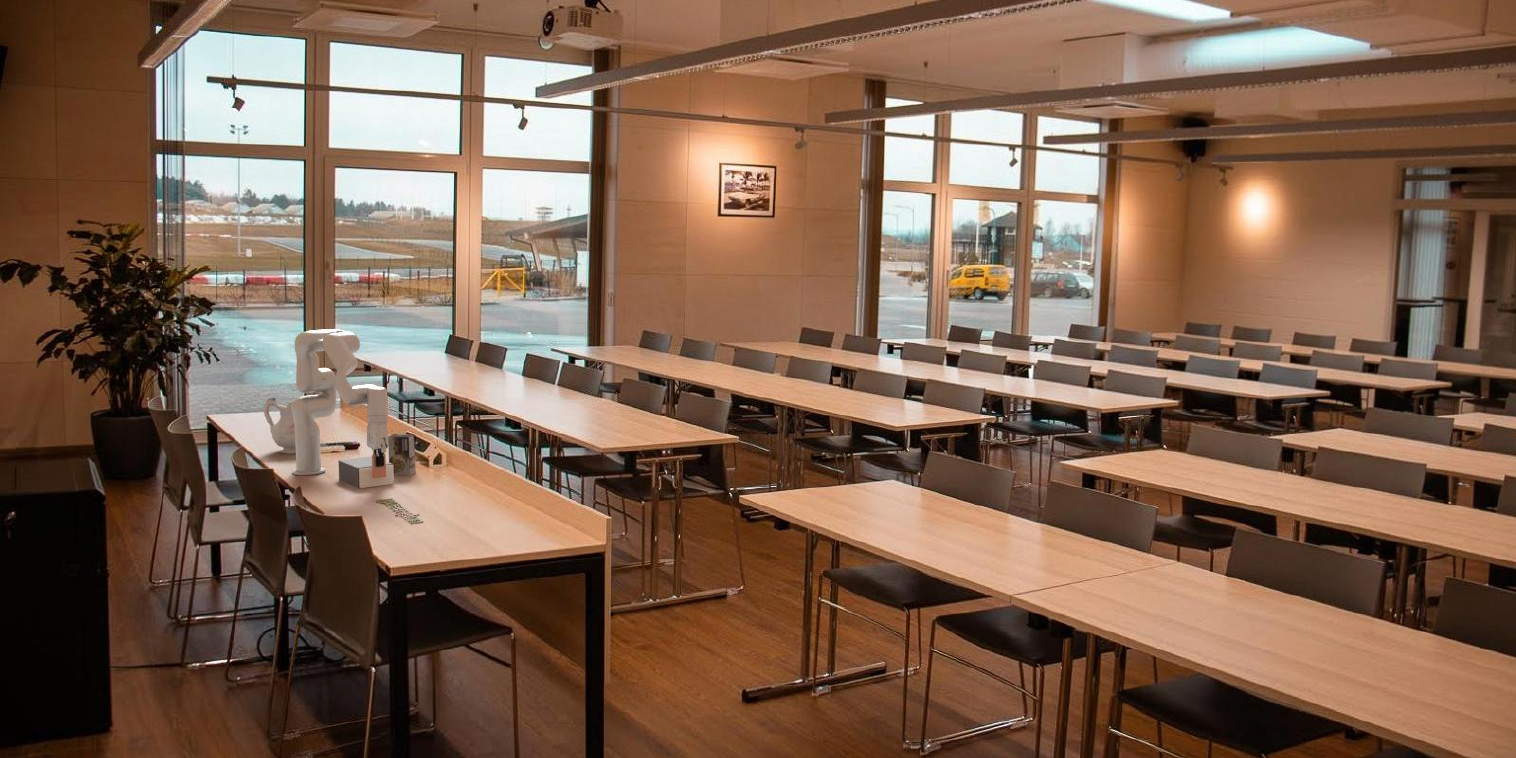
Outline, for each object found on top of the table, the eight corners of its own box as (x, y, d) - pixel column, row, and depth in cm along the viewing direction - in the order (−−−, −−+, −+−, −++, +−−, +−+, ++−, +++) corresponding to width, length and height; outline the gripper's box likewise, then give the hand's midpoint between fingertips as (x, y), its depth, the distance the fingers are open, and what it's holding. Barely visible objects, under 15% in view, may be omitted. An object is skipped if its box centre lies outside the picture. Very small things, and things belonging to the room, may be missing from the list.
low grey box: (339, 480, 478) (338, 460, 477) (373, 475, 487) (372, 456, 486) (358, 488, 464) (357, 468, 463) (392, 483, 473) (392, 463, 472)
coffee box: (416, 472, 494) (415, 433, 492) (410, 475, 488) (409, 436, 486) (394, 471, 495) (393, 433, 493) (388, 475, 489) (387, 436, 487)
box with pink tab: (341, 480, 476) (340, 448, 475) (374, 475, 485) (373, 444, 484) (363, 489, 461) (362, 456, 459) (396, 484, 470) (396, 452, 468)
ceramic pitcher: (273, 459, 522) (273, 403, 517) (259, 449, 536) (259, 395, 532) (323, 454, 535) (323, 400, 531) (308, 444, 550) (308, 391, 545)
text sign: (396, 499, 447) (374, 502, 443) (396, 497, 447) (374, 499, 443) (428, 522, 414) (405, 525, 410) (428, 520, 414) (405, 523, 409)
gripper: (360, 417, 466) (361, 464, 468) (376, 422, 454) (377, 470, 456) (378, 415, 470) (379, 461, 473) (395, 420, 459) (396, 468, 461)
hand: (378, 465), depth 464 cm, fingers closed
